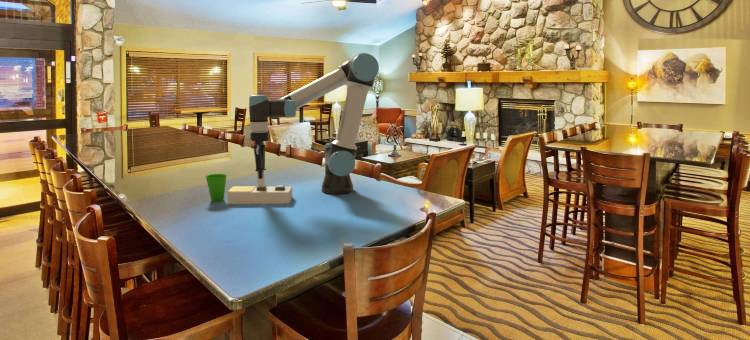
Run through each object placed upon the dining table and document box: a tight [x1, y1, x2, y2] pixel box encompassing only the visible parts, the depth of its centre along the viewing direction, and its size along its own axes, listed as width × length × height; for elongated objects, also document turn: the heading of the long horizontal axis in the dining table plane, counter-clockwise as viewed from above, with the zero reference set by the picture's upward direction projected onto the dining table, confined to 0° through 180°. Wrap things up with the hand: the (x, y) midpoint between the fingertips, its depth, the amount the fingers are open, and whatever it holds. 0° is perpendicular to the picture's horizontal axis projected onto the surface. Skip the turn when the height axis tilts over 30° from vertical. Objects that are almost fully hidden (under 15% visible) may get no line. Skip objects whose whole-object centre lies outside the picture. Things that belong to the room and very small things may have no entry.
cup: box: [204, 173, 228, 203], centre depth 207 cm, size 9×9×11 cm
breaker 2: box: [274, 184, 286, 191], centre depth 207 cm, size 4×4×6 cm
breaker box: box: [226, 185, 293, 205], centre depth 207 cm, size 26×11×5 cm, turn 93°
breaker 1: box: [256, 184, 267, 191], centre depth 207 cm, size 4×4×6 cm
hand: (261, 185), depth 206 cm, fingers closed
